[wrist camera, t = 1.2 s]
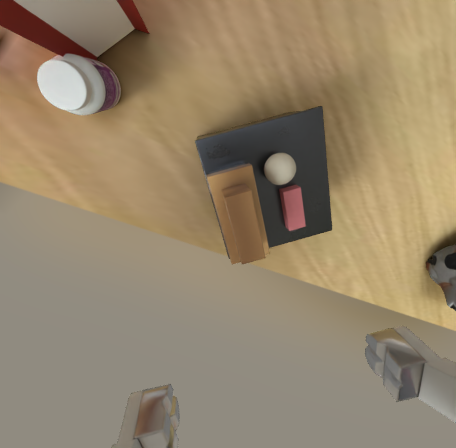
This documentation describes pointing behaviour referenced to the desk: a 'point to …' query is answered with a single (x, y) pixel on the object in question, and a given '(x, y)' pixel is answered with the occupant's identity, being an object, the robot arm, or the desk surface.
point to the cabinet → (258, 155)
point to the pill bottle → (78, 84)
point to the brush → (239, 212)
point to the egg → (280, 168)
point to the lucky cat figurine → (445, 272)
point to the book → (72, 23)
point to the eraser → (292, 207)
